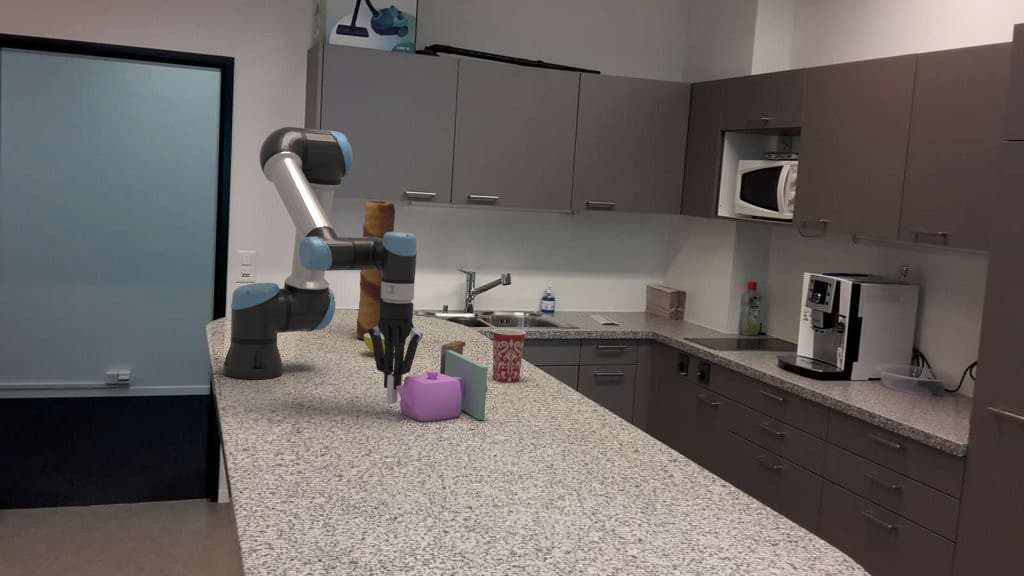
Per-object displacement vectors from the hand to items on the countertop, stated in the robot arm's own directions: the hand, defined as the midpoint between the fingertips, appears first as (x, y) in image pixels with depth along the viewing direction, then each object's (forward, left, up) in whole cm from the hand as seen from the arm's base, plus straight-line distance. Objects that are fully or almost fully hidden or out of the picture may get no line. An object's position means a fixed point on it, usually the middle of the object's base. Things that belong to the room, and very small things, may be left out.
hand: (391, 402), depth 212 cm
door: (+14, +11, -2) cm, 18 cm away
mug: (+10, +49, -2) cm, 50 cm away
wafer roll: (-47, +80, -2) cm, 93 cm away
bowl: (-32, +57, -2) cm, 66 cm away
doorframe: (+5, +22, -2) cm, 23 cm away
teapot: (+9, +2, -2) cm, 9 cm away
